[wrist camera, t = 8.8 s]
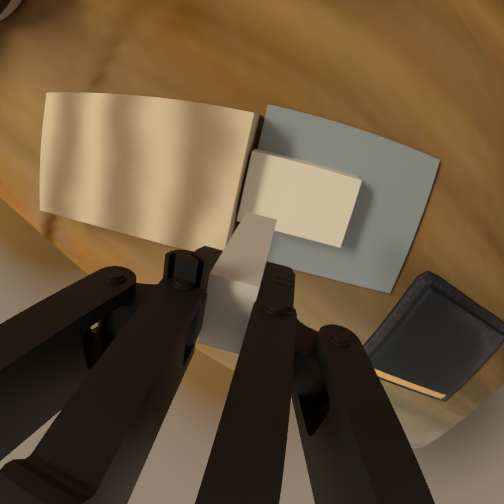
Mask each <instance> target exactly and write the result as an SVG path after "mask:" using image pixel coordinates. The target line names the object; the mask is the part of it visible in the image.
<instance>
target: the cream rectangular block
mask: <svg viewBox="0 0 504 504" xmlns="http://www.w3.org/2000/svg"><path fill="white" fill-rule="evenodd" d="M361 182H362V180H361V179H360V178H359V177H357V176H354V175H351V174H348V173H345V172H341V171H338V170H335V169H331V168H328V167H324V166H321V165H317V164H313V163H310V162H306V161H302V160H299V159H295V158H291V157H287V156H283V155H279V154H275V153H271V152H266V151H262V150H258V149H254V150H253V151H252V154H251V158H250V163H249V167H248V172H247V176H246V181H245V185H244V190H243V194H242V199H241V204H240V208H239V213H238V218H237V221H239V222H241V220H242V219H243V217H244V215H245V214H246V212H249V213H253V214H257V215H261V216H265V217H269V218H272V219H276V220H277V222H276V226H275V230H274V231H278V232H282V233H286V234H290V235H294V236H298V237H301V238H305V239H309V240H313V241H317V242H320V243H324V244H328V245H332V246H335V247H339V248H340V247H341V244H342V241H343V238H344V235H345V232H346V229H347V226H348V223H349V220H350V217H351V214H352V211H353V208H354V205H355V202H356V198H357V195H358V192H359V189H360V186H361Z"/></svg>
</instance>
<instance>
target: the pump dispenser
mask: <svg viewBox="0 0 504 504" xmlns="http://www.w3.org/2000/svg"><path fill="white" fill-rule="evenodd" d="M21 1H22V0H0V20H2V19H4V18H6V17H7V16H8V15H10V14H11V13H12V12H13V11H14V10H15V9H16V8H17V7H18V5H19V4H20V3H21Z"/></svg>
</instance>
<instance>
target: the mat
mask: <svg viewBox="0 0 504 504" xmlns="http://www.w3.org/2000/svg"><path fill="white" fill-rule="evenodd" d="M258 150H262V151H266V152H271V153H275V154H279V155H283V156H287V157H291V158H295V159H299V160H302V161H306V162H310V163H313V164H317V165H321V166H324V167H328V168H331V169H335V170H338V171H341V172H345V173H348V174H351V175H354V176H357V177H359V178H360V179H361V180H362V182H361V186H360V189H359V192H358V195H357V198H356V202H355V205H354V208H353V211H352V214H351V217H350V220H349V223H348V226H347V229H346V232H345V235H344V238H343V241H342V244H341V247H340V248H339V247H335V246H332V245H328V244H324V243H320V242H317V241H313V240H309V239H305V238H301V237H298V236H294V235H290V234H286V233H282V232H278V231H274V234H273V238H272V241H271V245H270V249H269V253H268V257H267V261H268V262H272V263H276V264H279V265H283V266H287V267H291V269H294V270H298V271H301V272H305V273H309V274H313V275H317V276H321V277H325V278H329V279H333V280H337V281H341V282H345V283H349V284H353V285H357V286H361V287H365V288H369V289H373V290H377V291H381V292H385V293H389V294H390V292H391V290H392V288H393V286H394V284H395V281H396V279H397V277H398V275H399V272H400V270H401V268H402V265H403V263H404V261H405V258H406V256H407V253H408V251H409V248H410V246H411V243H412V241H413V238H414V236H415V233H416V231H417V228H418V225H419V223H420V220H421V217H422V214H423V212H424V209H425V206H426V203H427V200H428V197H429V194H430V191H431V188H432V185H433V182H434V179H435V175H436V172H437V169H438V165H439V162H440V160H439V159H437V158H434V157H432V156H430V155H427V154H425V153H422V152H420V151H418V150H415V149H413V148H410V147H407V146H405V145H402V144H400V143H397V142H394V141H392V140H389V139H386V138H383V137H381V136H378V135H375V134H372V133H369V132H366V131H363V130H360V129H357V128H354V127H351V126H348V125H345V124H341V123H338V122H335V121H331V120H328V119H324V118H321V117H317V116H313V115H310V114H306V113H302V112H298V111H294V110H290V109H286V108H282V107H278V106H273V105H269V104H268V106H267V110H266V115H265V119H264V123H263V128H262V132H261V136H260V140H259V145H258Z"/></svg>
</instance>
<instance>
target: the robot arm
mask: <svg viewBox="0 0 504 504" xmlns="http://www.w3.org/2000/svg"><path fill="white" fill-rule="evenodd" d="M276 222H277V220H276V219H272V218H269V217H265V216H261V215H257V214H253V213H249V212H246V214H245V215H244V217H243V219H242V220H241V222H240V224H239V225H238V227H237V229H236V230H235V232H234V234H233V235H232V237H231V239H230V240H229V242H228V244H227V245H226V247H225V249H224V250H219V249H215V248H212V247H208V246H203V247H201V248H198V249H196V250H195V251H189V250H174V251H170V252H168V253H167V254H165V263H164V274H163V279H162V280H161V281H160V282H159V284H156V285H154V284H141V283H136V275H135V273H134V272H132V271H131V270H130V269H127V268H124V267H121V266H110V267H105V268H102V269H100V270H98V271H96V272H94V273H92V274H90V275H88V276H86V277H85V278H83V279H81V280H79V281H77V282H75V283H73V284H71V285H69V286H68V287H66V288H64V289H62V290H60V291H58V292H56V293H55V294H53V295H51V296H49V297H47V298H46V299H44V300H42V301H40V302H38V303H36V304H35V305H33V306H31V307H29V308H28V309H26V310H24V311H22V312H20V313H19V314H17V315H15V316H13V317H12V318H10V319H8V320H6V321H5V322H3V323H1V324H0V461H1V460H2V459H3V458H4V457H6V456H7V455H8V454H9V453H10V452H12V451H13V450H14V449H15V448H16V447H17V446H19V445H20V444H21V443H22V442H23V441H24V440H26V439H27V438H28V437H29V436H31V435H32V434H33V433H34V432H35V431H36V430H38V429H39V428H40V427H41V426H42V425H44V424H45V423H46V422H47V421H48V420H50V419H51V418H52V417H53V416H54V415H55V414H57V413H58V412H59V411H60V410H61V409H62V410H61V412H60V413H59V415H58V416H57V417H56V419H55V420H54V422H53V423H52V424H51V426H50V427H49V429H48V430H47V432H46V433H45V435H44V436H43V438H42V439H41V441H40V442H39V444H38V445H37V447H36V448H35V450H34V451H33V452H32V454H31V455H30V456H29V457H27V458H26V459H16V460H12V461H10V462H8V463H6V464H5V465H4V466H3V468H2V469H1V470H0V504H127V503H128V501H129V498H130V496H131V494H132V491H133V489H134V487H135V484H136V482H137V480H138V478H139V475H140V473H141V470H142V468H143V466H144V464H145V462H146V459H147V457H148V455H149V452H150V450H151V448H152V445H153V443H154V441H155V439H156V437H157V434H158V432H159V430H160V427H161V425H162V423H163V420H164V418H165V416H166V414H167V412H168V409H169V407H170V405H171V403H172V400H173V398H174V396H175V394H176V391H177V389H178V387H179V385H180V383H181V380H182V378H183V376H184V373H185V371H186V369H187V367H188V365H189V363H190V360H191V358H192V356H193V354H194V349H195V342H196V340H197V338H198V335H199V340H198V342H199V343H202V344H205V345H209V346H212V347H215V348H219V349H222V350H226V351H229V352H233V353H237V354H239V357H238V361H237V364H236V368H235V371H234V375H233V378H232V382H231V385H230V389H229V392H228V396H227V399H226V403H225V406H224V409H223V412H222V416H221V420H220V423H219V426H218V430H217V433H216V436H215V440H214V443H213V447H212V450H211V453H210V456H209V460H208V463H207V466H206V469H205V473H204V476H203V479H202V483H201V486H200V489H199V492H198V496H197V499H196V502H195V504H279V500H280V493H281V485H282V477H283V469H284V460H285V451H286V442H287V432H288V422H289V413H290V402H291V397H292V401H293V406H294V410H295V415H296V419H297V424H298V428H299V433H300V437H301V442H302V446H303V451H304V456H305V460H306V464H307V469H308V474H309V478H310V483H311V487H312V492H313V496H314V501H315V504H435V503H434V500H433V498H432V495H431V493H430V490H429V488H428V485H427V483H426V481H425V478H424V476H423V473H422V471H421V469H420V467H419V464H418V462H417V459H416V457H415V455H414V453H413V450H412V448H411V446H410V444H409V441H408V439H407V437H406V435H405V432H404V430H403V428H402V426H401V424H400V422H399V419H398V417H397V415H396V413H395V411H394V409H393V407H392V404H391V402H390V400H389V398H388V396H387V394H386V392H385V390H384V388H383V386H382V384H381V382H380V380H379V377H378V375H377V373H376V371H375V369H374V367H373V365H372V363H371V361H370V359H369V357H368V355H367V353H366V351H365V350H364V348H363V346H362V344H361V342H360V340H359V338H358V337H357V336H356V335H355V334H354V333H353V332H352V331H350V330H349V329H347V328H344V327H342V326H338V325H325V326H323V327H321V328H320V330H319V332H317V331H315V330H313V329H311V328H309V327H307V326H305V325H304V324H302V323H301V322H300V321H299V320H298V319H297V314H296V310H295V309H294V307H293V304H294V287H295V273H294V272H293V270H292V269H291V267H287V266H283V265H279V264H276V263H272V262H268V261H267V257H268V253H269V249H270V245H271V241H272V238H273V234H274V230H275V226H276ZM97 322H98V326H97V327H96V328H94V329H92V330H91V328H90V327H91V326H92V325H94V324H95V323H97ZM199 333H200V334H199Z"/></svg>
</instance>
